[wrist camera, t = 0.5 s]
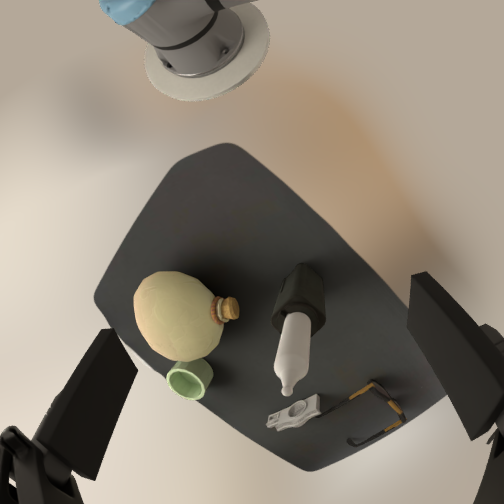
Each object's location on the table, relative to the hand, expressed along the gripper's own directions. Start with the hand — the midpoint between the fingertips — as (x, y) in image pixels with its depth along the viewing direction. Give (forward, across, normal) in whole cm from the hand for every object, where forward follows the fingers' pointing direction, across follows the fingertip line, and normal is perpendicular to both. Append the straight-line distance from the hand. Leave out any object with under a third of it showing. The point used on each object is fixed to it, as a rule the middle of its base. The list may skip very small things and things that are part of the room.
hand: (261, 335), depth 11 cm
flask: (+31, -14, -16) cm, 38 cm away
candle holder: (+29, -19, -30) cm, 46 cm away
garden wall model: (+25, -1, -40) cm, 47 cm away
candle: (+29, +4, -15) cm, 33 cm away
